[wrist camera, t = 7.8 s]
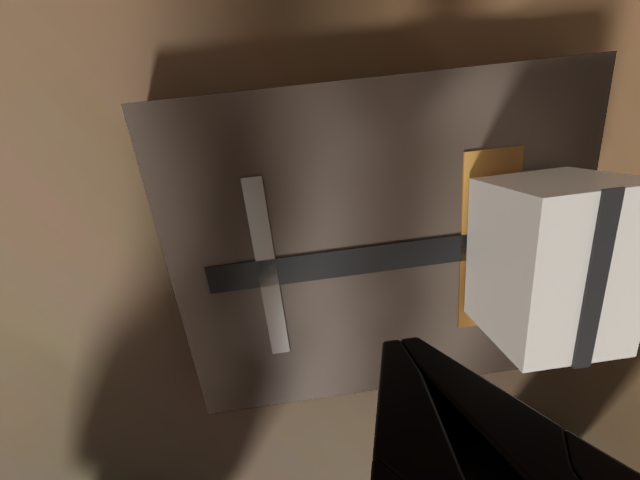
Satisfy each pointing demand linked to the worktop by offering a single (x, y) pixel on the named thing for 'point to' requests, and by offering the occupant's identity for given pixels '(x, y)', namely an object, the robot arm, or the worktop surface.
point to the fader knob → (555, 265)
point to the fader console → (345, 214)
